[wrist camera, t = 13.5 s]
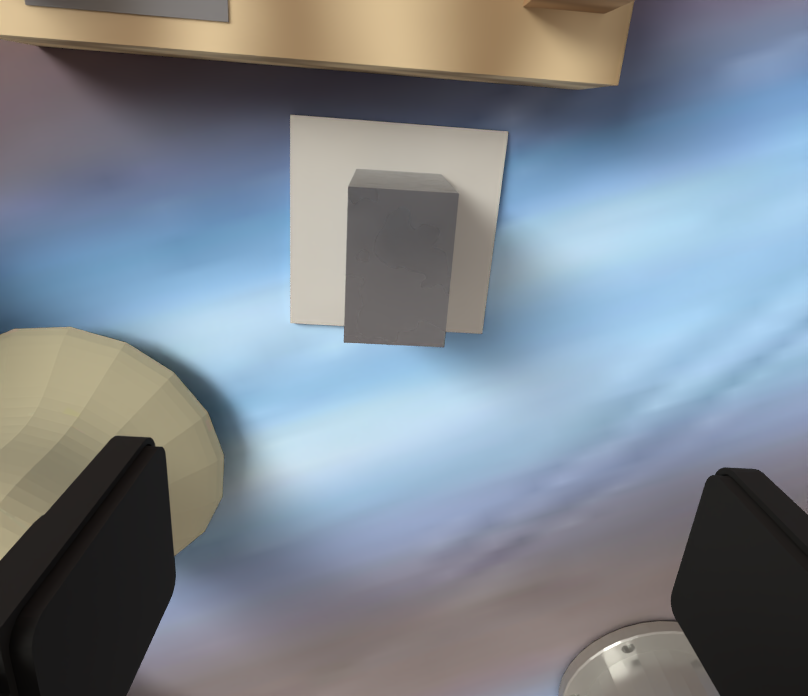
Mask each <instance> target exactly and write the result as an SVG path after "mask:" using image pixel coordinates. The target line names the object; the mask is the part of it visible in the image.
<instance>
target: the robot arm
mask: <svg viewBox="0 0 808 696" xmlns="http://www.w3.org/2000/svg"><path fill="white" fill-rule="evenodd" d="M175 578H176V571H175V559H174V547H173V535H172V523H171V511H170V499H169V487H168V475H167V463H166V453H165V450H164V448H163V447H160V446H155V443H154V440H153V439H152V438H151V437H135V436H114V437H113V438H111V439H110V440H109V442H108V443H107V444H106V445H105V446H104V447H103V448H102V450H101V451H100V452H99V453H98V454H97V455H96V456H95V458H94V459H93V460H92V461H91V462H90V463H89V464H88V465H87V467H86V468H85V469H84V470H83V471H82V472H81V473H80V475H79V476H78V477H77V478H76V479H75V480H74V481H73V483H72V484H71V485H70V486H69V487H68V488H67V489H66V491H65V492H64V493H63V494H62V495H61V496H60V497H59V498H58V500H57V501H56V502H55V503H54V504H53V505H52V506H51V508H50V509H49V510H48V511H47V512H46V513H45V514H44V515H42V516H41V517H40V518H38V519H37V520H36V521H35V522H34V523H33V524H32V525H31V526H30V527H29V529H28V530H27V531H26V532H25V533H24V534H23V535H22V537H21V538H20V539H19V540H18V541H17V542H16V543H15V544H14V546H13V547H12V548H11V549H10V550H9V551H8V552H7V553H6V555H5V556H4V557H3V558H2V559H1V560H0V696H126V695H127V693H128V691H129V689H130V686H131V684H132V682H133V680H134V678H135V675H136V673H137V671H138V669H139V667H140V665H141V662H142V660H143V658H144V656H145V654H146V651H147V649H148V647H149V645H150V643H151V641H152V638H153V636H154V634H155V632H156V630H157V627H158V625H159V623H160V621H161V619H162V617H163V614H164V612H165V610H166V608H167V606H168V604H169V601H170V599H171V597H172V594H173V590H174V586H175ZM671 607H672V611H673V614H674V616H675V619H676V620H677V622H671V621H655V622H647V623H640V624H636V625H632V626H628V627H624V628H621V629H619V630H616V631H614V632H611V633H609V634H607V635H605V636H603V637H602V638H600V639H598V640H596V641H595V642H593V643H592V644H590V645H589V646H588V647H587V648H585V649H584V650H583V651H582V652H581V653H579V655H578V656H577V657H576V658H575V659H574V660H573V661H572V663H571V664H570V665H569V667H568V668H567V670H566V672H565V673H564V675H563V677H562V680H561V683H560V687H559V695H558V696H808V515H807V514H806V513H805V512H804V511H803V510H802V509H801V508H800V507H799V506H798V505H797V504H796V503H794V502H793V501H792V500H791V499H790V498H789V497H788V496H787V495H786V494H785V493H784V492H783V491H782V490H781V489H780V488H778V487H777V486H776V485H775V484H774V483H773V482H772V481H771V480H770V479H769V478H768V477H767V476H766V475H765V474H764V473H762V472H761V471H759V470H756V469H743V468H721V469H719V470H718V471H717V472H716V474H715V475H712V476H710V477H709V478H708V479H707V481H706V483H705V486H704V490H703V493H702V496H701V499H700V503H699V506H698V509H697V512H696V516H695V519H694V522H693V525H692V529H691V532H690V535H689V538H688V542H687V545H686V548H685V551H684V555H683V558H682V561H681V564H680V568H679V571H678V574H677V578H676V581H675V584H674V587H673V591H672V594H671Z"/></svg>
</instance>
